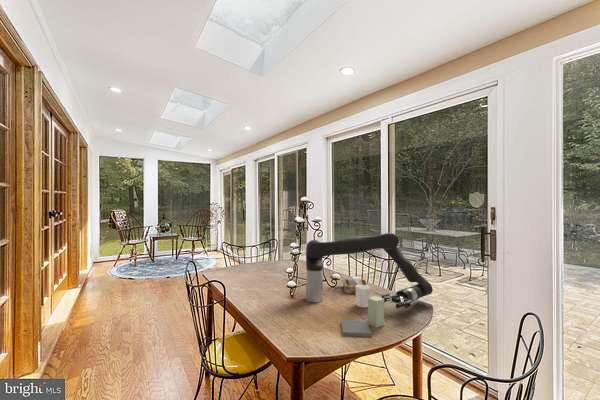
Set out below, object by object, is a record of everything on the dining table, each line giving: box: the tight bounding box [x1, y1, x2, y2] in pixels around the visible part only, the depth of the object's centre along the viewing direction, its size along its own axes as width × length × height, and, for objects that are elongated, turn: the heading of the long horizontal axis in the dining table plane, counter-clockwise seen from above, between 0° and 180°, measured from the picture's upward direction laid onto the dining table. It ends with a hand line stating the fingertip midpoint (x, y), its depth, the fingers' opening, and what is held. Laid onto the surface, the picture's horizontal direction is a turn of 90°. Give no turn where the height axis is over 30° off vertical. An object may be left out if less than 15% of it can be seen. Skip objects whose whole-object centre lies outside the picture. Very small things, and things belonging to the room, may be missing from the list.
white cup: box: [355, 284, 372, 308], centre depth 163 cm, size 8×8×10 cm
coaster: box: [340, 319, 373, 338], centre depth 133 cm, size 12×12×2 cm
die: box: [348, 275, 363, 286], centre depth 189 cm, size 8×9×10 cm
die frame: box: [342, 278, 369, 295], centre depth 189 cm, size 14×15×4 cm
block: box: [367, 295, 385, 328], centre depth 139 cm, size 5×5×12 cm
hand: (388, 303), depth 146 cm, fingers open, 8 cm apart
